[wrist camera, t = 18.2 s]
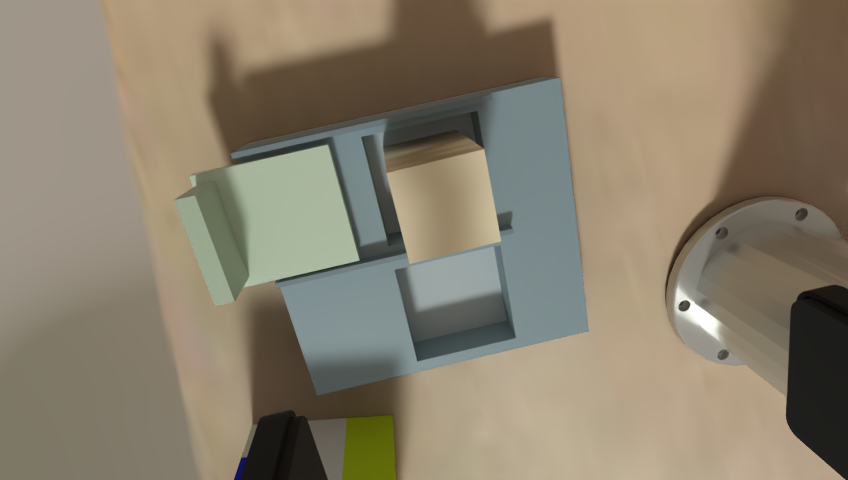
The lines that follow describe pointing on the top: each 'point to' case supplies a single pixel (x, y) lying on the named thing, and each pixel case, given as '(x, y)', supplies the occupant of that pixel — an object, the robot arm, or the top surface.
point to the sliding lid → (267, 220)
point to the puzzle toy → (350, 447)
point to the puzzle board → (450, 274)
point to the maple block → (441, 195)
